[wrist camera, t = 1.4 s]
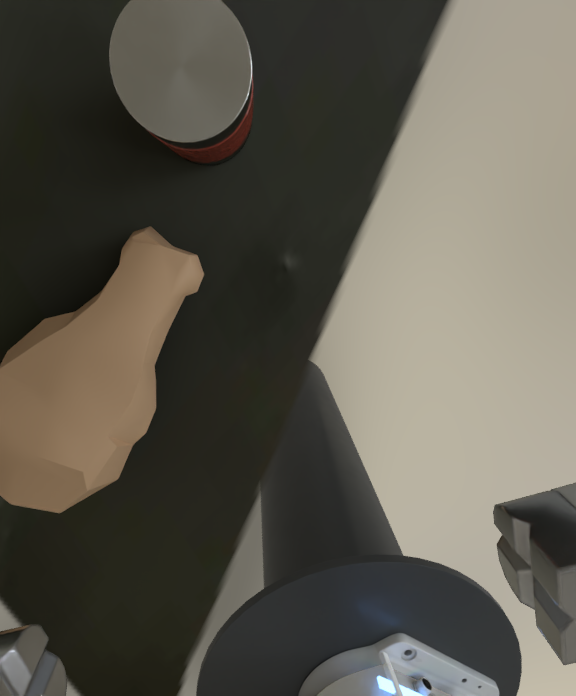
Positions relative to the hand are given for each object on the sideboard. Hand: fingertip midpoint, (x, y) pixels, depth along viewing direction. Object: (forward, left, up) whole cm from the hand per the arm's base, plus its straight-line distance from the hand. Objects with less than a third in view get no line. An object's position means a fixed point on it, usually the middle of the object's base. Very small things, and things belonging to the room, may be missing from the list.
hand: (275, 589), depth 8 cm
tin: (+8, -10, -27) cm, 30 cm away
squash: (+9, +8, -27) cm, 29 cm away
